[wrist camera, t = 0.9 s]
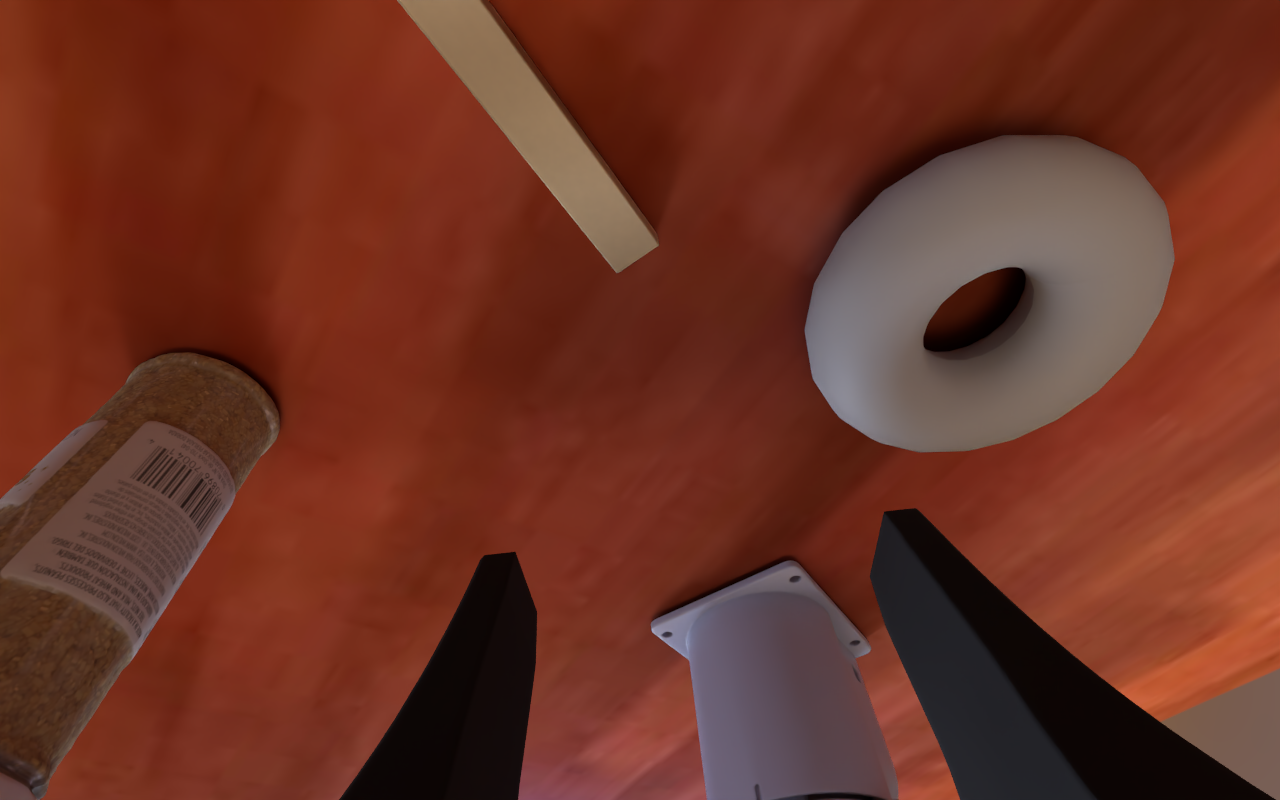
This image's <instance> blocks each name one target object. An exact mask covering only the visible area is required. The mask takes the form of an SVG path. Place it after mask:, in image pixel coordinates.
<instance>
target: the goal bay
mask: <svg viewBox="0 0 1280 800" xmlns="http://www.w3.org/2000/svg"><path fill="white" fill-rule="evenodd" d="M397 1H398V2H399V3H400V4H401V6H402V7H403V8H404V9H405V11H406V12H407V13H408V14H409V16H410V17H411V18H412V19H413V21H414V22H415V23H416V24H417V26H418V27H419V28H420V29H421V31H422V32H423V33H424V34H425V36H426V37H427V38H428V39H429V41H430V42H431V43H432V44H433V45H434V47H435V48H436V49H437V50H438V52H439V53H440V54H441V55H442V57H443V58H444V59H445V60H446V62H447V63H448V64H449V65H450V67H451V68H452V69H453V70H454V72H455V73H456V74H457V75H458V77H459V78H460V79H461V80H462V82H463V83H464V84H465V85H466V87H467V88H468V89H469V90H470V91H471V93H472V94H473V95H474V96H475V98H476V99H477V100H478V101H479V103H480V104H481V105H482V106H483V108H484V109H485V110H486V111H487V113H488V114H489V115H490V116H491V118H492V119H493V120H494V121H495V123H496V124H497V125H498V126H499V128H500V129H501V130H502V131H503V133H504V134H505V135H506V136H507V137H508V139H509V140H510V141H511V142H512V144H513V145H514V146H515V147H516V149H517V150H518V151H519V152H520V154H521V155H522V156H523V157H524V159H525V160H526V161H527V162H528V164H529V165H530V166H531V167H532V169H533V170H534V171H535V172H536V174H537V175H538V176H539V177H540V179H541V180H542V181H543V182H544V183H545V185H546V186H547V187H548V188H549V190H550V191H551V192H552V193H553V195H554V196H555V197H556V198H557V200H558V201H559V202H560V203H561V205H562V206H563V207H564V208H565V210H566V211H567V212H568V213H569V215H570V216H571V217H572V218H573V220H574V221H575V222H576V223H577V225H578V226H579V227H580V228H581V229H582V231H583V232H584V233H585V234H586V236H587V237H588V238H589V239H590V241H591V242H592V243H593V244H594V246H595V247H596V248H597V249H598V251H599V252H600V253H601V254H602V256H603V257H604V258H605V259H606V261H607V262H608V263H609V264H610V266H611V267H612V268H613V269H614V271H615V272H616V273H619V272H621V271H622V270H623V269H625V268H626V267H628V266H629V265H631V264H632V263H634V262H635V261H637V260H638V259H640V258H641V257H642V256H644V255H645V254H647V253H648V252H650V251H651V250H653V249H654V248H656V247H657V246H658V245H659V241H658V236H657V233H656V232H655V230H654V229H653V227H652V226H651V225H650V223H649V222H648V220H647V219H646V218H645V216H644V215H643V214H642V212H641V211H640V209H639V208H638V207H637V205H636V204H635V202H634V201H633V200H632V198H631V197H630V196H629V194H628V193H627V191H626V190H625V189H624V187H623V186H622V184H621V183H620V182H619V180H618V179H617V178H616V176H615V175H614V173H613V172H612V171H611V169H610V168H609V166H608V165H607V164H606V162H605V161H604V160H603V158H602V157H601V155H600V154H599V153H598V151H597V150H596V148H595V147H594V146H593V144H592V143H591V142H590V140H589V139H588V137H587V136H586V135H585V133H584V132H583V130H582V129H581V128H580V126H579V125H578V124H577V122H576V121H575V119H574V118H573V117H572V115H571V114H570V112H569V111H568V110H567V108H566V107H565V106H564V104H563V103H562V101H561V100H560V99H559V97H558V96H557V94H556V93H555V92H554V90H553V89H552V88H551V86H550V85H549V83H548V82H547V81H546V79H545V78H544V76H543V75H542V74H541V72H540V71H539V70H538V68H537V67H536V65H535V64H534V63H533V61H532V60H531V58H530V57H529V56H528V54H527V53H526V52H525V50H524V49H523V47H522V46H521V45H520V43H519V42H518V40H517V39H516V38H515V36H514V35H513V34H512V32H511V31H510V29H509V28H508V27H507V25H506V24H505V22H504V21H503V20H502V18H501V17H500V16H499V14H498V13H497V11H496V10H495V9H494V7H493V6H492V4H491V3H490V2H489V0H397Z"/></svg>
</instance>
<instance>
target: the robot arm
mask: <svg viewBox="0 0 1280 800" xmlns="http://www.w3.org/2000/svg"><path fill="white" fill-rule="evenodd" d="M870 579H871V582H872V585H873V588H874V592H875V595H876V598H877V601H878V604H879V607H880V610H881V613H882V616H883V619H884V622H885V625H886V628H887V630H888V633H889V635H890V637H891V639H892V642H893V644H894V646H895V648H896V651H897V653H898V655H899V657H900V659H901V662H902V664H903V666H904V668H905V670H906V673H907V675H908V677H909V679H910V681H911V683H912V686H913V688H914V690H915V692H916V694H917V697H918V699H919V701H920V703H921V705H922V707H923V710H924V712H925V714H926V716H927V718H928V721H929V723H930V725H931V727H932V729H933V731H934V734H935V736H936V738H937V740H938V742H939V745H940V747H941V750H942V752H943V754H944V757H945V759H946V762H947V764H948V767H949V769H950V772H951V775H952V777H953V780H954V783H955V786H956V789H957V791H958V794H959V797H960V800H1276V799H1274V798H1272V797H1271V796H1269V795H1268V794H1266V793H1264V792H1263V791H1261V790H1260V789H1258V788H1256V787H1255V786H1253V785H1252V784H1250V783H1249V782H1247V781H1246V780H1244V779H1243V778H1241V777H1240V776H1238V775H1237V774H1235V773H1234V772H1232V771H1231V770H1229V769H1228V768H1226V767H1225V766H1223V765H1222V764H1220V763H1219V762H1218V761H1216V760H1215V759H1213V758H1212V757H1210V756H1209V755H1207V754H1206V753H1204V752H1203V751H1201V750H1200V749H1198V748H1197V747H1195V746H1194V745H1192V744H1191V743H1189V742H1188V741H1186V740H1185V739H1183V738H1182V737H1180V736H1179V735H1178V734H1176V733H1175V732H1173V731H1172V730H1170V729H1169V728H1167V727H1166V726H1165V725H1163V724H1162V723H1161V722H1159V721H1158V720H1157V719H1155V718H1154V717H1152V716H1151V715H1150V714H1148V713H1147V712H1146V711H1144V710H1143V709H1142V708H1140V707H1139V706H1137V705H1136V704H1135V703H1133V702H1132V701H1131V700H1129V699H1128V698H1127V697H1125V696H1124V695H1123V694H1122V693H1120V692H1119V691H1118V690H1116V689H1115V688H1114V687H1112V686H1111V685H1110V684H1108V683H1107V682H1106V681H1105V680H1103V679H1102V678H1101V677H1099V676H1098V675H1097V674H1096V673H1094V672H1093V671H1092V670H1091V669H1089V668H1088V667H1087V666H1086V665H1084V664H1083V663H1082V662H1081V661H1080V660H1078V659H1077V658H1076V657H1075V656H1073V655H1072V654H1071V653H1070V652H1069V651H1067V650H1066V649H1065V648H1064V647H1063V646H1062V645H1060V644H1059V643H1058V642H1057V641H1056V640H1055V639H1053V638H1052V637H1051V636H1050V635H1049V634H1048V633H1046V632H1045V631H1044V630H1043V629H1042V628H1041V627H1039V626H1038V625H1037V624H1036V623H1035V622H1034V621H1033V620H1032V619H1030V618H1029V617H1028V616H1027V615H1026V614H1025V613H1024V612H1023V611H1021V610H1020V609H1019V608H1018V607H1017V606H1016V605H1015V604H1014V603H1013V602H1012V601H1011V600H1010V599H1009V598H1007V597H1006V596H1005V595H1004V594H1003V593H1002V592H1001V591H1000V590H999V589H998V588H997V587H996V586H995V585H993V584H992V583H991V582H990V581H989V580H988V579H987V578H986V577H985V576H984V575H983V574H982V573H981V572H980V571H979V570H978V569H977V568H976V567H975V566H974V565H973V564H972V563H971V562H970V561H969V560H968V559H967V558H966V557H965V556H963V555H962V554H961V553H960V552H959V551H958V550H957V549H956V548H955V547H954V546H953V545H952V544H951V543H950V542H949V541H948V540H947V539H946V538H945V536H944V535H943V534H942V533H941V532H940V531H939V530H938V529H937V528H936V527H935V526H934V525H933V524H932V523H931V522H930V521H929V520H928V519H927V518H926V517H925V516H924V515H923V514H922V513H921V512H920V511H919V510H917V509H916V508H913V509H904V510H895V511H886V512H884V514H883V519H882V523H881V528H880V532H879V537H878V541H877V546H876V550H875V555H874V559H873V564H872V568H871V573H870ZM651 630H652V632H653V633H654V634H655V635H656V636H658V637H659V638H660V639H662V640H663V641H664V642H666V643H667V644H668V645H670V646H671V647H672V648H674V649H675V650H676V651H678V652H679V653H680V654H682V655H683V656H684V657H686V658H687V659H688V660H689V661H690V669H691V677H692V685H693V692H694V700H695V708H696V716H697V724H698V732H699V740H700V748H701V756H702V763H703V771H704V779H705V787H706V795H707V800H898V782H897V777H896V772H895V768H894V765H893V762H892V760H891V757H890V754H889V751H888V748H887V746H886V743H885V740H884V737H883V735H882V732H881V729H880V726H879V723H878V721H877V718H876V715H875V712H874V709H873V707H872V704H871V701H870V698H869V695H868V693H867V690H866V687H865V684H864V681H863V679H862V676H861V673H860V670H859V668H858V665H857V662H856V659H855V658H857V657H860V656H862V655H865V654H867V653H869V652H870V650H871V646H870V644H869V641H868V640H867V639H866V638H865V637H864V636H863V635H862V634H861V632H860V631H859V630H858V629H857V628H856V627H855V626H854V625H853V624H852V622H851V621H850V620H849V619H848V618H847V617H846V616H845V615H844V613H843V612H842V611H841V610H840V609H839V608H838V607H837V606H836V605H835V603H834V602H833V601H832V600H831V599H830V598H829V597H828V596H827V595H826V593H825V592H824V591H823V590H822V589H821V588H820V587H819V586H818V585H817V583H816V582H815V581H814V580H813V579H812V578H811V577H810V576H809V575H808V573H807V572H806V571H805V570H804V569H803V568H802V567H801V566H800V564H799V563H797V562H796V561H792V560H790V561H785V562H782V563H780V564H778V565H776V566H773V567H771V568H769V569H767V570H764V571H762V572H760V573H758V574H755V575H753V576H751V577H749V578H746V579H744V580H742V581H740V582H737V583H735V584H733V585H731V586H728V587H726V588H724V589H722V590H719V591H717V592H715V593H713V594H710V595H708V596H706V597H704V598H702V599H699V600H697V601H695V602H693V603H690V604H688V605H686V606H684V607H681V608H679V609H677V610H675V611H672V612H670V613H668V614H666V615H663V616H661V617H659V618H657V619H655V620H653V621H652V623H651ZM536 636H537V611H536V608H535V605H534V602H533V600H532V597H531V594H530V591H529V589H528V586H527V583H526V580H525V577H524V575H523V572H522V569H521V566H520V564H519V561H518V558H517V555H516V552H510V553H501V554H492V555H484V557H483V558H482V559H481V560H480V562H479V564H478V566H477V568H476V571H475V573H474V575H473V577H472V579H471V581H470V584H469V586H468V588H467V590H466V592H465V594H464V596H463V598H462V600H461V602H460V604H459V606H458V608H457V610H456V612H455V614H454V616H453V618H452V620H451V622H450V624H449V626H448V628H447V630H446V631H445V633H444V635H443V637H442V639H441V641H440V643H439V644H438V646H437V648H436V650H435V652H434V654H433V655H432V657H431V659H430V661H429V663H428V665H427V666H426V668H425V670H424V672H423V673H422V675H421V677H420V678H419V680H418V682H417V683H416V685H415V687H414V688H413V690H412V692H411V693H410V695H409V697H408V698H407V700H406V702H405V703H404V705H403V707H402V708H401V710H400V712H399V713H398V715H397V716H396V718H395V720H394V721H393V723H392V724H391V726H390V727H389V729H388V730H387V732H386V734H385V735H384V737H383V738H382V740H381V741H380V743H379V744H378V746H377V747H376V749H375V750H374V752H373V753H372V754H371V756H370V757H369V759H368V760H367V762H366V763H365V765H364V766H363V767H362V769H361V770H360V772H359V773H358V775H357V776H356V777H355V779H354V780H353V782H352V783H351V784H350V786H349V787H348V788H347V790H346V791H345V792H344V794H343V795H342V797H341V798H340V799H339V800H518V794H519V784H520V777H521V770H522V762H523V755H524V748H525V740H526V733H527V726H528V718H529V711H530V704H531V696H532V688H533V681H534V673H535V665H536Z"/></svg>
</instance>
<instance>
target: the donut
mask: <svg viewBox="0 0 1280 800" xmlns="http://www.w3.org/2000/svg"><path fill="white" fill-rule="evenodd" d="M1174 260H1175V257H1174V251H1173V244H1172V237H1171V230H1170V223H1169V217H1168V213H1167V209H1166V206H1165V202H1164V201H1163V200H1162V199H1161V197H1160V196H1159V195H1158V193H1157V192H1156V191H1155V190H1154V188H1153V187H1152V186H1151V184H1150V183H1149V182H1148V181H1147V179H1146V178H1145V177H1144V175H1143V174H1142V173H1141V172H1140V170H1139V169H1138V168H1137V166H1135V165H1134V164H1133V163H1132V162H1130V161H1129V160H1128V159H1126V158H1125V157H1123V156H1121V155H1118V154H1116V153H1114V152H1111V151H1109V150H1106V149H1104V148H1102V147H1099V146H1097V145H1095V144H1092V143H1090V142H1088V141H1085V140H1083V139H1080V138H1078V137H1073V136H1065V135H1002V136H999V137H996V138H993V139H990V140H987V141H983V142H980V143H977V144H974V145H971V146H968V147H964V148H961V149H958V150H955V151H952V152H949V153H946V154H942V155H940V156H938V157H936V158H934V159H933V160H931V161H930V162H928V163H926V164H925V165H923V166H922V167H920V168H918V169H917V170H915V171H914V172H912V173H910V174H909V175H907V176H906V177H904V178H903V179H901V180H899V181H898V182H896V183H895V184H893V185H891V186H890V187H888V188H887V189H885V190H884V191H882V192H881V193H880V194H879V195H878V196H877V197H876V198H875V200H874V201H873V202H872V203H871V204H870V205H869V206H868V207H867V208H866V209H865V210H864V211H863V212H862V213H861V214H860V215H859V216H858V217H857V218H856V219H855V220H854V221H853V222H852V223H851V225H850V226H849V227H848V228H847V229H846V230H845V231H844V232H843V233H842V234H841V236H840V238H839V240H838V242H837V243H836V245H835V247H834V249H833V251H832V252H831V254H830V256H829V258H828V260H827V261H826V263H825V265H824V267H823V269H822V270H821V272H820V274H819V276H818V278H817V279H816V281H815V283H814V287H813V291H812V296H811V301H810V306H809V311H808V316H807V320H806V325H805V336H806V342H807V349H808V355H809V361H810V367H811V372H812V377H813V380H814V382H815V383H816V385H817V386H818V388H819V389H820V391H821V392H822V394H823V395H824V397H825V398H826V400H827V401H828V403H829V404H830V406H831V408H832V409H833V410H834V412H835V413H836V414H837V415H838V416H839V418H840V419H842V420H843V421H845V422H846V423H848V424H849V425H851V426H852V427H854V428H856V429H857V430H859V431H860V432H862V433H863V434H865V435H866V436H868V437H869V438H871V439H873V440H875V441H877V442H880V443H883V444H887V445H891V446H895V447H899V448H903V449H907V450H911V451H916V452H949V451H970V450H974V449H978V448H982V447H986V446H990V445H994V444H998V443H1002V442H1006V441H1010V440H1014V439H1016V438H1018V437H1020V436H1023V435H1025V434H1027V433H1029V432H1031V431H1034V430H1036V429H1038V428H1040V427H1042V426H1045V425H1047V424H1049V423H1051V422H1053V421H1055V420H1057V419H1059V418H1060V417H1062V416H1063V415H1065V414H1066V413H1068V412H1069V411H1070V410H1072V409H1073V408H1075V407H1076V406H1078V405H1079V404H1080V403H1082V402H1083V401H1085V400H1086V399H1088V398H1089V397H1091V396H1092V395H1093V394H1095V393H1096V392H1098V391H1099V390H1100V389H1101V388H1102V387H1103V386H1104V385H1105V384H1106V383H1107V382H1108V381H1109V380H1110V379H1111V378H1112V377H1113V376H1114V375H1115V373H1116V372H1117V371H1118V370H1119V369H1120V368H1121V367H1122V366H1123V365H1124V364H1125V363H1126V362H1127V361H1128V360H1129V359H1130V358H1131V357H1132V356H1133V355H1134V353H1135V352H1136V350H1137V348H1138V347H1139V345H1140V344H1141V342H1142V340H1143V339H1144V337H1145V335H1146V334H1147V332H1148V331H1149V329H1150V327H1151V326H1152V324H1153V322H1154V321H1155V319H1156V318H1157V316H1158V314H1159V312H1160V310H1161V308H1162V305H1163V301H1164V298H1165V294H1166V290H1167V286H1168V283H1169V279H1170V275H1171V271H1172V268H1173V264H1174ZM1006 267H1018V268H1021V269H1022V270H1023V271H1024V273H1025V276H1026V281H1025V289H1024V291H1023V293H1022V296H1021V298H1020V300H1019V302H1018V305H1017V307H1016V308H1015V309H1014V310H1013V312H1012V313H1011V314H1010V315H1009V317H1008V318H1007V319H1006V320H1005V322H1004V323H1003V324H1002V325H1000V326H999V327H998V328H997V329H995V330H994V331H993V332H992V333H990V334H989V335H988V336H987V337H985V338H983V339H981V340H979V341H977V342H975V343H973V344H971V345H969V346H967V347H963V348H959V349H956V350H952V351H947V352H933V351H930V350H926V349H925V348H924V346H923V336H924V333H925V331H926V328H927V325H928V322H929V321H930V319H931V318H932V317H933V315H934V314H935V312H936V311H937V310H938V308H939V307H940V305H941V304H942V303H943V302H944V301H945V300H946V299H947V298H949V297H950V296H951V295H952V294H953V293H954V292H955V291H957V290H958V289H959V288H960V287H961V286H963V285H965V284H967V283H968V282H970V281H972V280H974V279H976V278H977V277H979V276H981V275H983V274H985V273H988V272H992V271H995V270H999V269H1002V268H1006Z"/></svg>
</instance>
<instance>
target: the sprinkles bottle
mask: <svg viewBox="0 0 1280 800" xmlns="http://www.w3.org/2000/svg"><path fill="white" fill-rule="evenodd" d="M279 424H280V419H279V412H278V410H277V408H276V406H275V403H274V402H273V401H272V399H271V397H270V396H269V395H268V394H267V393H266V391H265V390H264V389H263V388H262V387H261V386H260V385H259V384H258V383H257V382H256V381H255V380H253V379H252V378H251V377H249V376H248V375H247V374H246V373H244V372H243V371H241V370H240V369H238V368H236V367H234V366H232V365H230V364H228V363H226V362H224V361H221V360H217V359H214V358H211V357H207V356H204V355H199V354H195V353H190V352H184V353H169V354H164V355H160V356H157V357H156V358H153V359H150V360H148V361H146V362H143V363H142V364H140V365H139V366H137V367H136V368H135V369H134V370H133V371H132V373H131V374H130V375H129V377H128V379H127V381H126V384H125V385H124V386H123V387H122V388H121V389H120V390H119V391H118V392H117V393H116V394H115V395H114V396H113V397H112V398H111V399H110V400H109V401H108V402H107V403H106V404H105V405H103V406H102V407H101V408H100V409H99V410H98V411H97V412H96V413H95V414H94V415H93V416H92V417H91V418H90V419H88V420H87V421H86V422H85V423H84V424H83V425H82V426H80V427H78V428H76V429H75V430H73V431H72V432H71V433H70V434H69V435H68V436H67V437H66V438H64V439H63V440H62V441H61V442H60V443H59V444H58V445H57V446H56V447H55V448H54V449H53V450H52V451H51V452H50V453H49V454H47V455H46V456H45V457H44V458H43V459H42V460H41V461H40V462H39V463H38V464H37V465H36V466H35V467H34V468H33V469H32V470H31V471H30V472H29V473H28V474H27V475H26V476H25V477H24V478H23V479H22V480H20V481H19V482H18V483H17V484H16V485H15V486H14V487H13V488H11V489H10V490H9V491H8V492H7V493H6V494H5V495H4V496H3V497H2V498H1V499H0V800H39V799H41V798H42V797H44V796H45V794H46V792H47V788H48V784H49V780H50V778H51V777H52V775H53V774H54V772H55V771H56V768H57V766H58V765H59V763H60V762H61V761H62V759H63V758H64V756H65V755H66V754H67V753H68V751H69V750H70V749H71V748H72V746H73V744H74V742H75V740H76V739H77V737H78V736H79V734H80V733H81V731H82V730H83V729H84V727H85V726H86V725H87V723H88V722H89V720H90V719H91V717H92V716H93V714H94V713H95V711H96V710H97V708H98V706H99V705H100V703H101V701H102V700H103V699H104V697H105V696H106V694H107V692H108V691H109V689H110V688H111V686H112V685H113V684H114V682H115V681H116V680H117V678H118V676H119V674H120V672H121V671H122V670H123V669H124V668H125V667H126V666H127V665H128V664H129V663H130V662H131V660H132V659H133V657H134V656H135V655H136V653H137V652H138V650H139V648H140V647H141V645H142V644H143V642H144V641H145V639H146V638H147V636H148V634H149V633H150V631H151V630H152V628H153V627H154V625H155V624H156V622H157V620H158V619H159V617H160V616H161V614H162V613H163V611H164V610H165V608H166V607H167V605H168V604H169V602H170V600H171V599H172V597H173V596H174V594H175V593H176V591H177V590H178V588H179V587H180V585H181V583H182V582H183V580H184V579H185V577H186V576H187V574H188V573H189V571H190V570H191V568H192V566H193V565H194V563H195V562H196V560H197V559H198V557H199V556H200V554H201V552H202V551H203V549H204V548H205V546H206V545H207V543H208V542H209V540H210V538H211V537H212V535H213V534H214V532H215V531H216V529H217V527H218V526H219V524H220V523H221V521H222V520H223V518H224V516H225V515H226V513H227V512H228V510H229V509H230V507H231V505H232V503H233V501H234V498H235V495H236V493H237V491H238V490H239V488H240V487H241V485H242V484H243V482H244V481H245V480H246V478H247V476H248V474H249V473H250V471H251V470H252V468H253V467H254V466H255V464H256V462H257V461H258V459H259V458H260V457H261V455H263V454H264V453H265V452H266V451H267V450H268V449H269V448H270V447H271V445H272V444H273V443H274V442H275V440H276V438H277V436H278V433H279V429H280V425H279Z"/></svg>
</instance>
